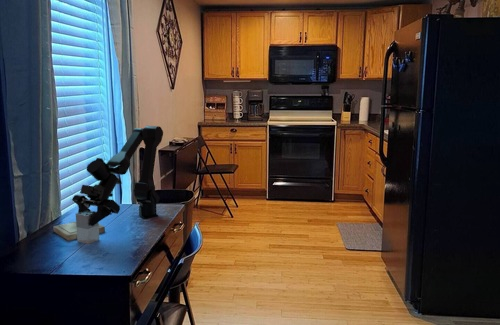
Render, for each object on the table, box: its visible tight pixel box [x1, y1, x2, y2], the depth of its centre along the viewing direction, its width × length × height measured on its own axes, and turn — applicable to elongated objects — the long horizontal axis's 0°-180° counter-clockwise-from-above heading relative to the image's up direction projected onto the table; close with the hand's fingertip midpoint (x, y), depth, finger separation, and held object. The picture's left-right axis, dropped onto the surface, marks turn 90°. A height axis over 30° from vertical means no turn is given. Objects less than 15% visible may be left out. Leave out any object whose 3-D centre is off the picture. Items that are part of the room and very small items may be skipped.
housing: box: [75, 210, 100, 245], centre depth 149 cm, size 5×6×11 cm
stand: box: [52, 221, 106, 242], centre depth 159 cm, size 14×14×2 cm
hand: (84, 224), depth 147 cm, fingers open, 6 cm apart
